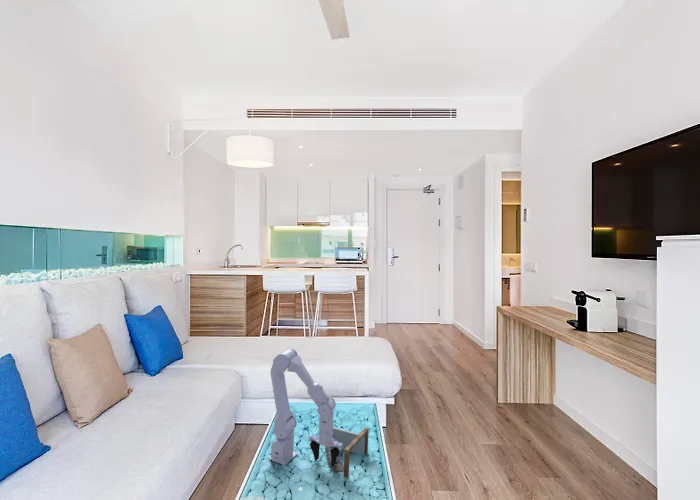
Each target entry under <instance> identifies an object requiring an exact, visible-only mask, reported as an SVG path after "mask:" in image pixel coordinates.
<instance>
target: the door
mask: <svg viewBox="0 0 700 500" xmlns="http://www.w3.org/2000/svg"><path fill="white" fill-rule="evenodd" d="M358 435H359V433H357V432H354V431H352V430H347V429H343V428H339V427H336V426H333V439H334V440H336V441H338V442H340V443H342V444H343V448H342V449H341V450H344V449H345V448H346V447H347V446H348V445H349V444H350V443H351V442H352V441H353V440H354V439H355V438H356V437H357V436H358ZM364 451H365V436H364V437H363V438H362V439H361V440H360V441H359V442H358V443H357V444H356V445H355V446H354V447H353V449H352V450H351V451H350V453H354V454H357V455H361V456H364V455H365V454H364Z"/></svg>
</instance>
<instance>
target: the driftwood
mask: <svg viewBox="0 0 700 500" xmlns="http://www.w3.org/2000/svg"><path fill="white" fill-rule="evenodd" d="M324 448H325V449H324V450H325V456H326V462H327V466H328V468H329V469H330V471H331V472H333V473H336V472H339V471H344V462H343V461H342V460H343V459H342V456H341V450H340V451H339V453H338V456H337V459H336V462H335V465H334V466H331V453H330V451H331V450H332V449H333V447H330V446H324Z"/></svg>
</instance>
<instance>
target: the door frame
mask: <svg viewBox="0 0 700 500" xmlns="http://www.w3.org/2000/svg"><path fill="white" fill-rule="evenodd" d="M369 430H370V429H369V428H368V427H364V428H363V429H362V430H361V432H359V433H358V434H359V435H358V436H357V437H356V438H355V439H354V440H353V441H352V442H351V443H350V444H349V445H348V446H347V447H346V448H345V449H343V453H344V454H343V466H344V470H343V473H342V474H343V475H342V476H343V478H346V479H347V478H349V475H350V457H351V456H350V455H351V454H350V453H351V450H352V449H353V447H354V446H355V445H356V444H357V443H358V442H359V441H360V440H361V439H362V438H363V437H364V436H365V451H364V455H365V456H367V455H368V454H369V432H370V431H369ZM366 454H367V455H366Z"/></svg>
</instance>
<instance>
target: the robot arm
mask: <svg viewBox="0 0 700 500" xmlns="http://www.w3.org/2000/svg"><path fill="white" fill-rule="evenodd" d="M272 362H273V363H272V365H271V368H270V372H269V373H270V379H271V384H272V392H273V397H274V404H275V408H276V409H275V411H276V415H275V419H274V428H273V434H274V436H275V439H274V440H273V442H272V443H271V446H270V457H269V458H270V460H269V461H271V460H272V462H275V463H278V464H280V465H283V466H286V465H287V464H288V463H289V462H290V461H291V460H292V459H294V458H295V457H296V456H297V455H298V452H297V451H294V447H295V446H294V444H295V443H294V442H295V439H294V438H295V433H294V431H295V430H294V429H296V427H297V424H298V423H297V419H296V417H295V416H294V412H293V411H292V410H291V408H290V402H289V396H288V390H287V383H286V377H285V372H289V373H295V374H296V376H297V377H298V378H299V379H300V380H301V382H302V383H303V384H304V385H305V386H306V387H307V391H306V392H307V394H308V395H309V398H311V399H312V401H313V402H314V404H315V406H317V409H316V410H317V411H316V412H317V414H318V415H319V419H318V421H319V422H318V435H315V434H310V435H309V436H308V442H310V444H309V447H310V449H311V451H312V454H313V458H314V461H315V462H317V461H318V460H319V458H320V446H324V447H325V446H329V447H333V448H331V451H330V452H329V454H330V455H331V466H334V465H335V462H336V459H337V456H338V453H339V451H340V452H341V451H342V450H343V449H342V448H343V444H342V443H340V442H338V441H336V440H334V439H333V427H334V420H335V419H334V411H335V409H336V406H337V403H336V401H335V399H334V398H333V397H332V396H330V395H328V394H327V393H326V391H325V390H324V386H323V385H322V384H320V383H318V382H316V381H315V380H314V379H313V378H312V376H311V374H310V373H309V371H308V369H307V368H306V366H305V364H304V363H303V361H302V358H301V356H300V355H299V354H298V352H297V351H296V350H295V349H293V348H289V347H288V348H287V349H285V350H284V351H283V352H281V353H279V354H277V355H276V356H275V357H274V358H273V360H272Z"/></svg>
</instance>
